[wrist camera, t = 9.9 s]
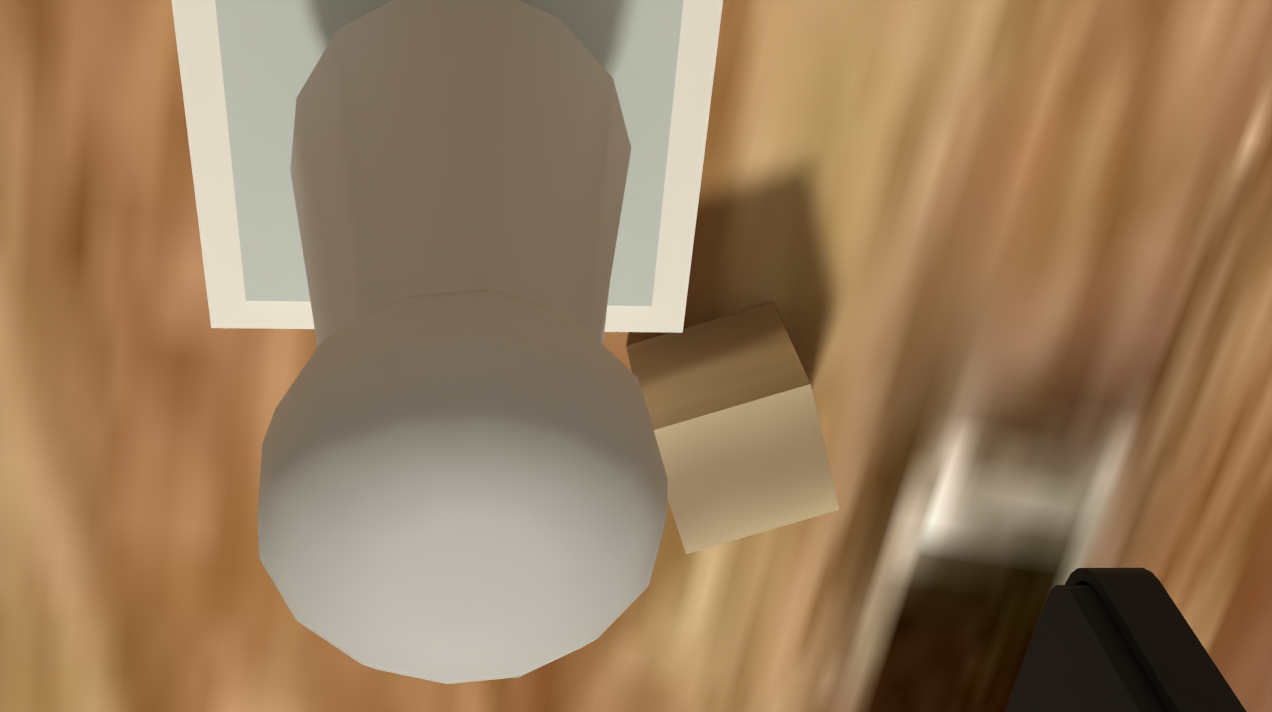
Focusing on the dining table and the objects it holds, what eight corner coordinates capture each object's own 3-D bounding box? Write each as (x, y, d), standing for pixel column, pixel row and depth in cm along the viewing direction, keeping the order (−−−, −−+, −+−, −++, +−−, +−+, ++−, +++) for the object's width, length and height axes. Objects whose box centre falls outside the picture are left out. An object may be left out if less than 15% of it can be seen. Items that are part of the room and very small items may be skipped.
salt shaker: (269, 186, 23) (88, 710, 12) (361, -100, 20) (238, 229, 9) (549, 281, 25) (615, 811, 14) (664, 30, 22) (860, 431, 11)
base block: (194, -224, 23) (144, -195, 19) (703, -186, 24) (744, -152, 21) (241, 242, 28) (209, 333, 24) (657, 250, 29) (684, 338, 26)
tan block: (625, 343, 31) (645, 432, 27) (772, 300, 31) (810, 383, 27) (663, 458, 33) (686, 554, 30) (800, 418, 33) (839, 509, 29)
